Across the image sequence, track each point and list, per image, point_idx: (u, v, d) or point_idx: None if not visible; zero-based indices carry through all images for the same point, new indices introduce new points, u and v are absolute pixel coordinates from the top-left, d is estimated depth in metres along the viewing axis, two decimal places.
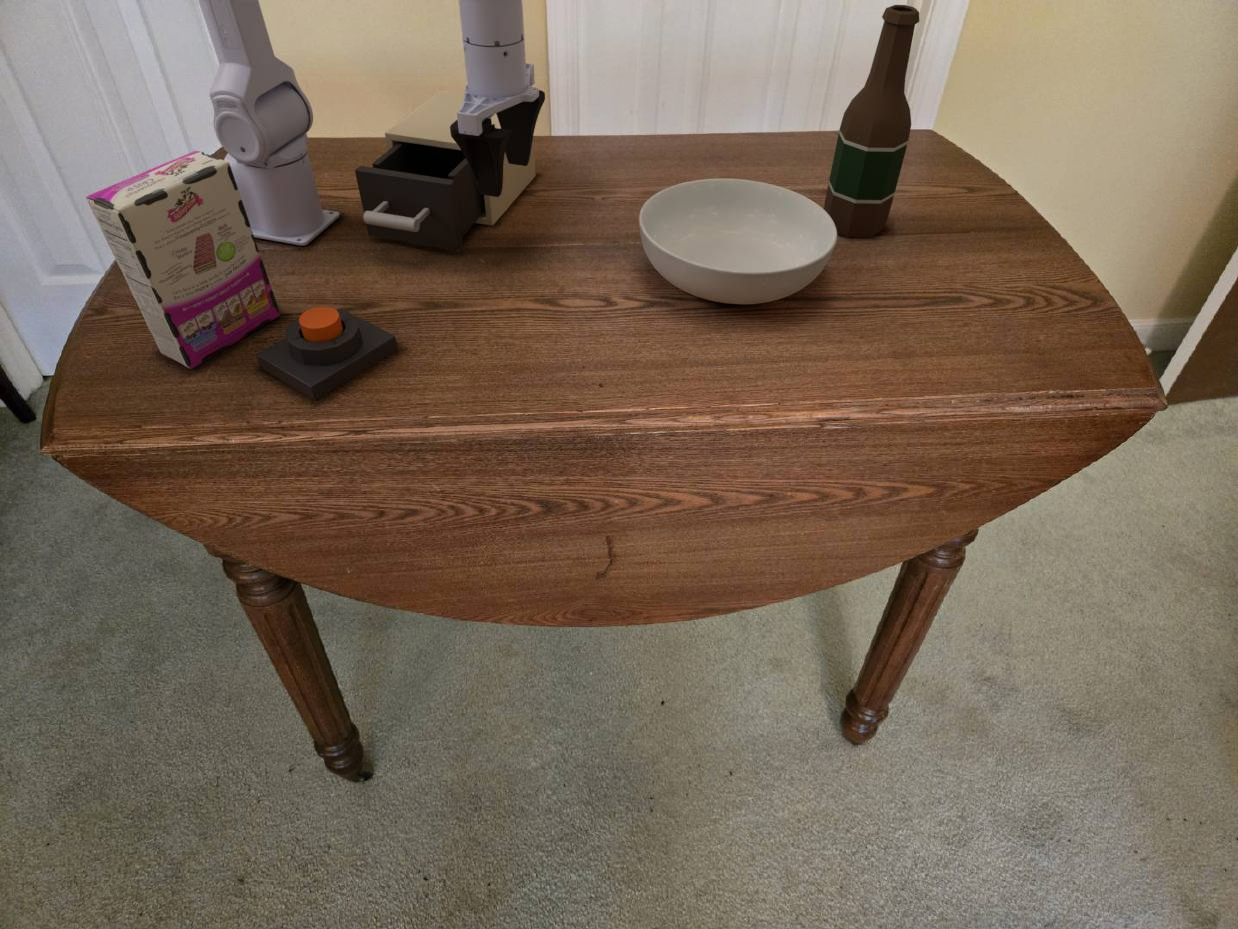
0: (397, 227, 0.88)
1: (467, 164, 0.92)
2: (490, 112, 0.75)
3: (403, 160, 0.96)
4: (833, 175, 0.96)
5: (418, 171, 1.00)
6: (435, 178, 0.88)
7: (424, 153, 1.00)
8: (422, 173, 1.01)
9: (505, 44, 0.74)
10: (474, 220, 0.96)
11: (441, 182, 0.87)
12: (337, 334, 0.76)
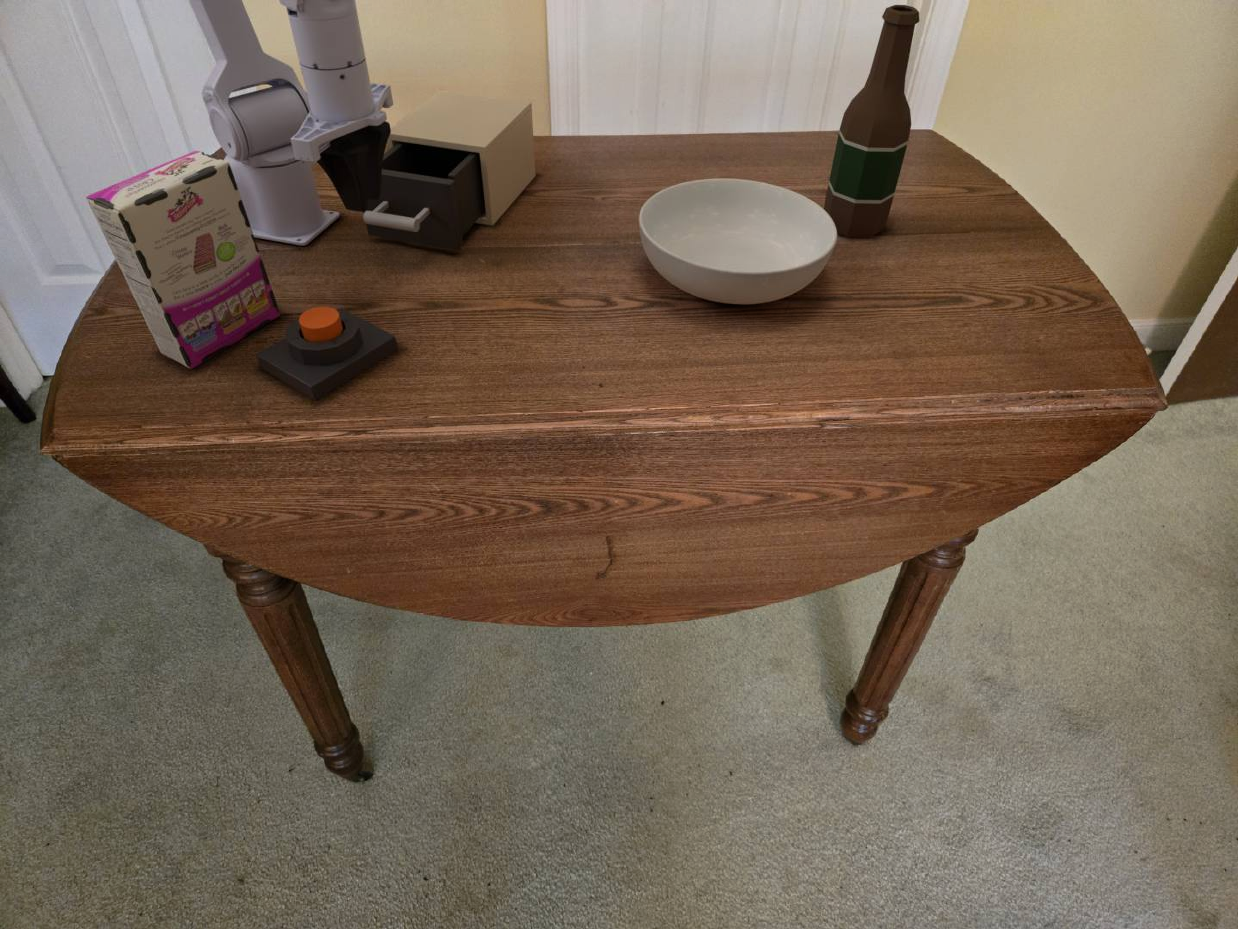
0: (397, 227, 0.88)
1: (467, 164, 0.92)
2: (328, 137, 0.72)
3: (403, 160, 0.96)
4: (833, 175, 0.96)
5: (418, 171, 1.00)
6: (435, 178, 0.88)
7: (424, 153, 1.00)
8: (422, 173, 1.01)
9: (340, 67, 0.71)
10: (474, 220, 0.96)
11: (441, 182, 0.87)
12: (337, 334, 0.76)
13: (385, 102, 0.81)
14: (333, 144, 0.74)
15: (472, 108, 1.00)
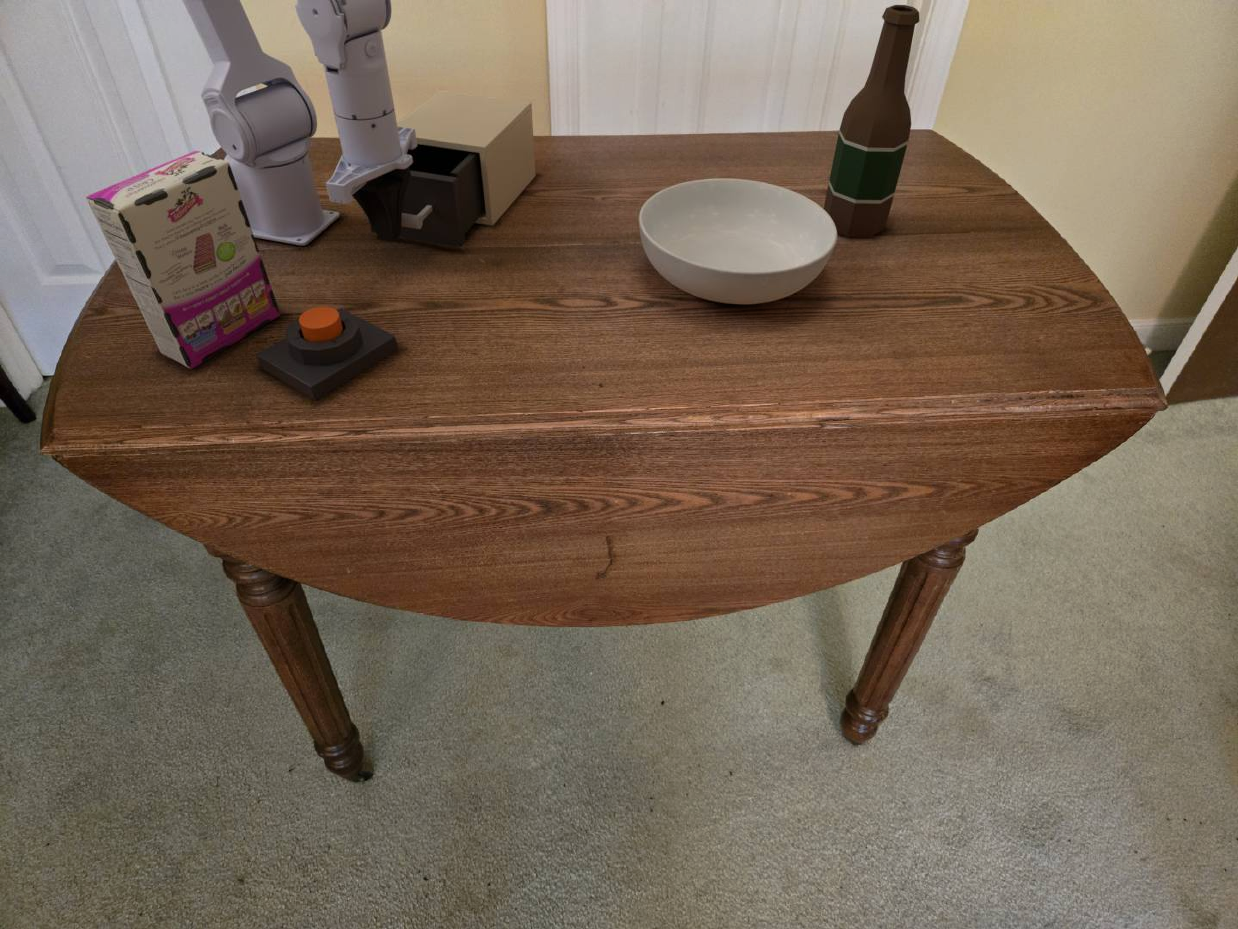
0: None
1: (470, 162, 0.92)
2: (360, 181, 0.78)
3: None
4: (833, 175, 0.96)
5: (420, 168, 1.00)
6: (438, 175, 0.89)
7: (427, 151, 1.00)
8: (425, 170, 1.01)
9: (372, 117, 0.77)
10: (476, 217, 0.97)
11: (444, 179, 0.88)
12: (337, 334, 0.76)
13: (410, 144, 0.87)
14: (369, 182, 0.81)
15: (472, 108, 1.00)
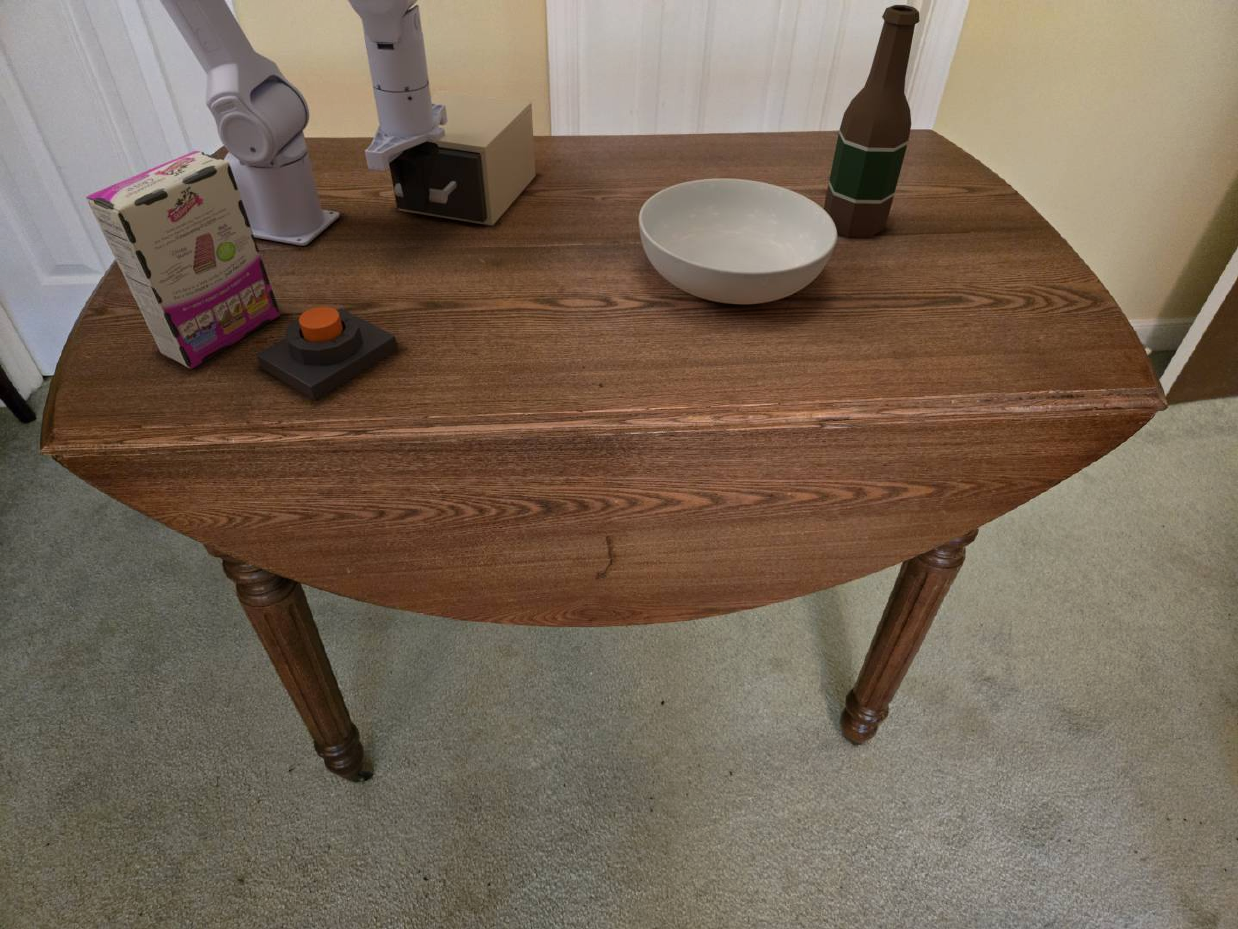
0: None
1: None
2: (396, 150, 0.84)
3: None
4: (833, 175, 0.96)
5: (443, 148, 1.04)
6: (462, 152, 0.93)
7: None
8: None
9: (409, 90, 0.82)
10: None
11: (468, 156, 0.92)
12: (337, 334, 0.76)
13: (441, 120, 0.92)
14: (405, 151, 0.86)
15: (472, 108, 1.00)
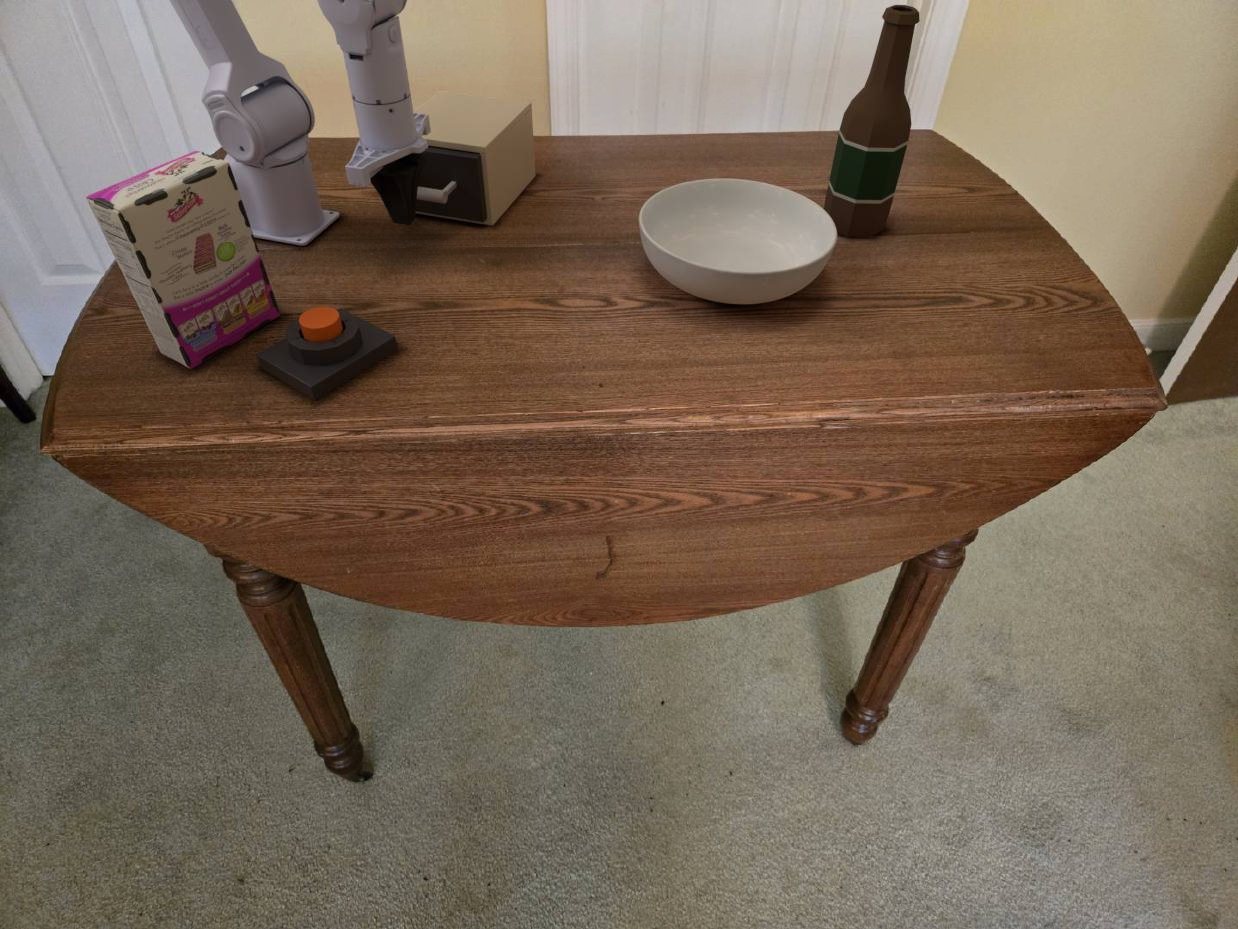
0: (426, 199, 0.92)
1: None
2: (378, 165, 0.81)
3: None
4: (833, 175, 0.96)
5: (443, 148, 1.04)
6: (462, 152, 0.93)
7: None
8: None
9: (390, 102, 0.79)
10: None
11: (468, 156, 0.92)
12: (337, 334, 0.76)
13: (424, 130, 0.89)
14: (386, 166, 0.83)
15: (472, 108, 1.00)
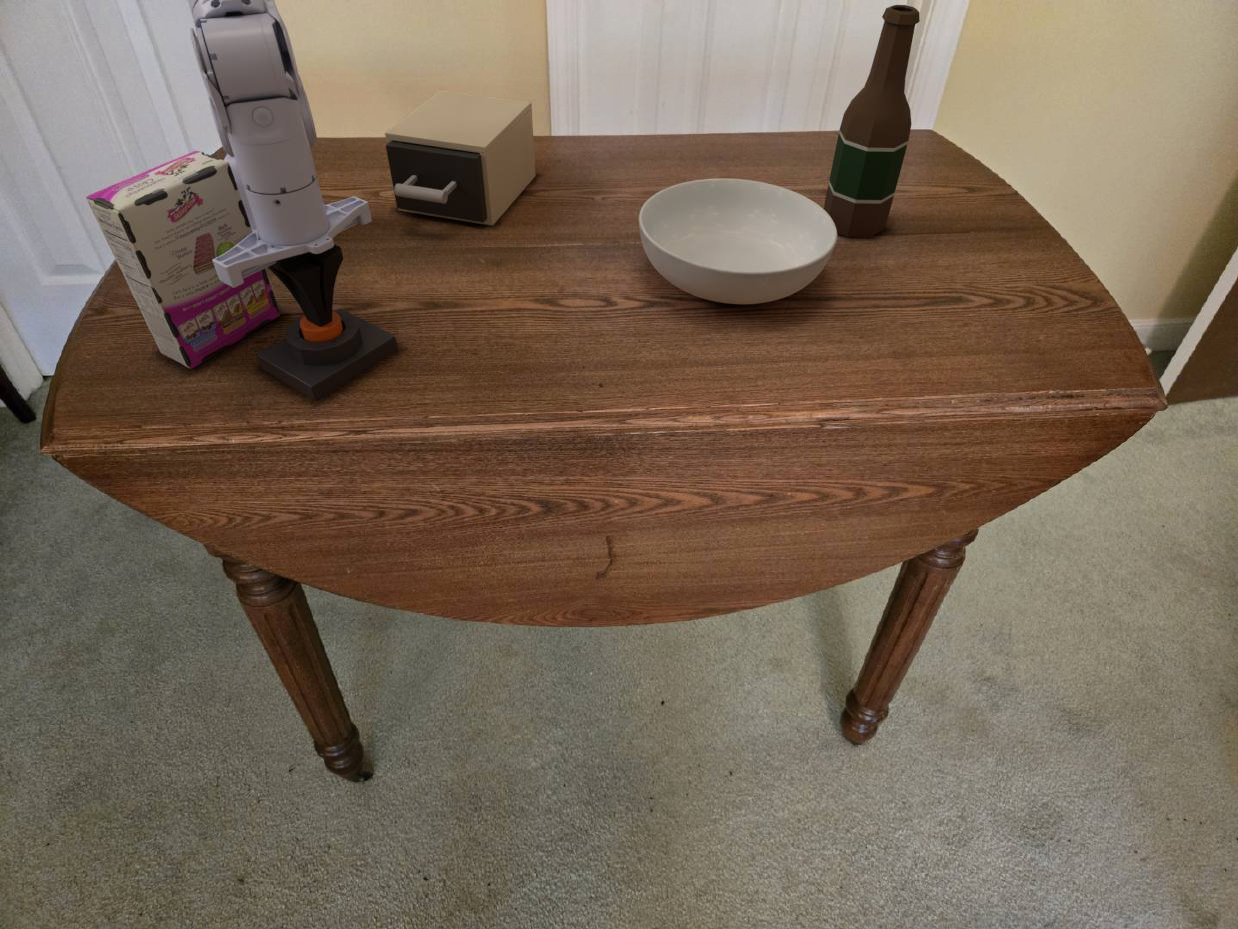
0: (426, 199, 0.92)
1: None
2: (254, 263, 0.66)
3: None
4: (833, 175, 0.96)
5: (443, 148, 1.04)
6: (462, 152, 0.93)
7: None
8: None
9: (274, 193, 0.64)
10: None
11: (468, 156, 0.92)
12: None
13: (360, 219, 0.74)
14: (279, 262, 0.69)
15: (472, 108, 1.00)
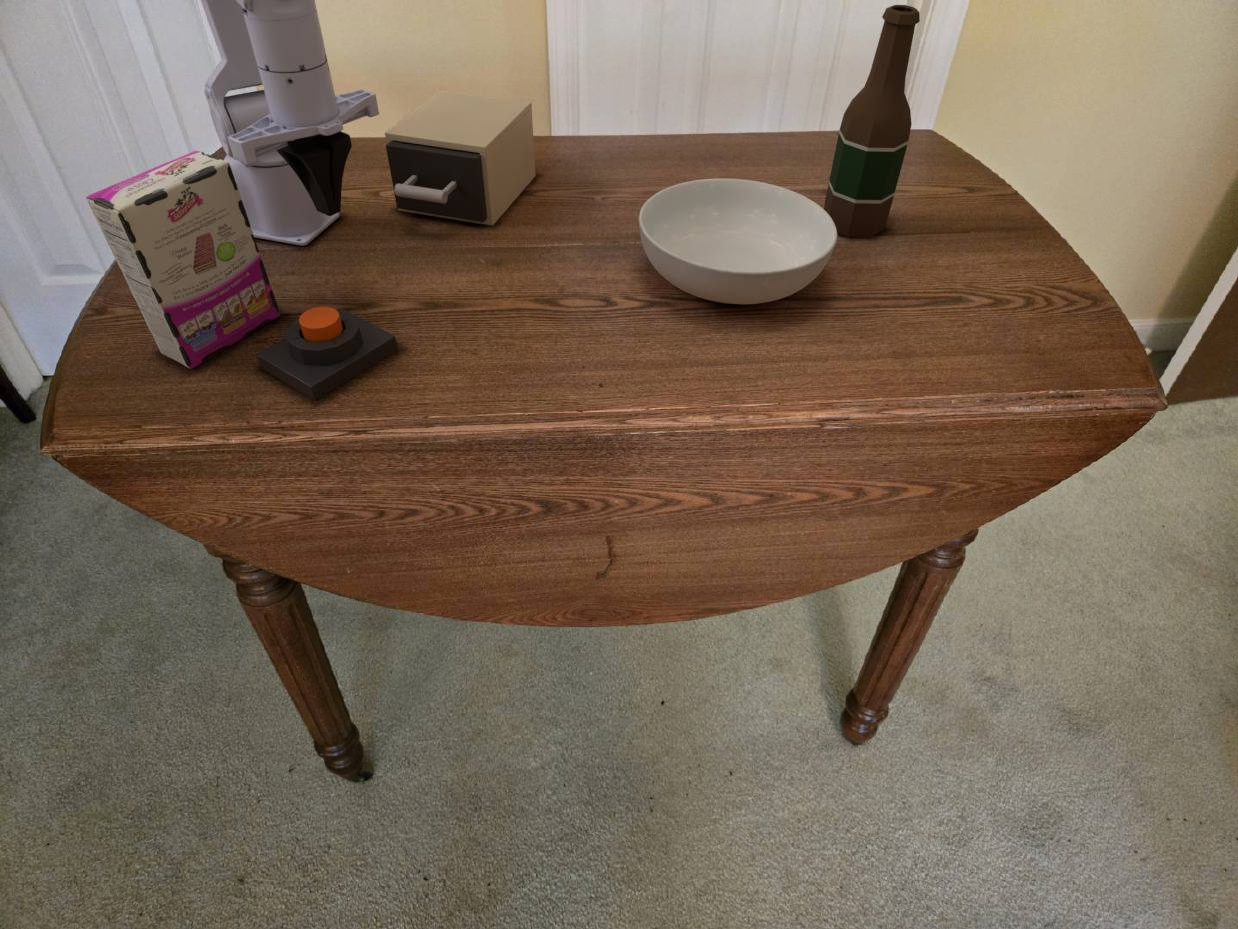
0: (426, 199, 0.92)
1: None
2: (267, 141, 0.69)
3: None
4: (833, 175, 0.96)
5: (443, 148, 1.04)
6: (462, 152, 0.93)
7: None
8: None
9: (287, 71, 0.67)
10: None
11: (468, 156, 0.92)
12: (337, 334, 0.76)
13: (368, 111, 0.77)
14: (290, 144, 0.72)
15: (472, 108, 1.00)
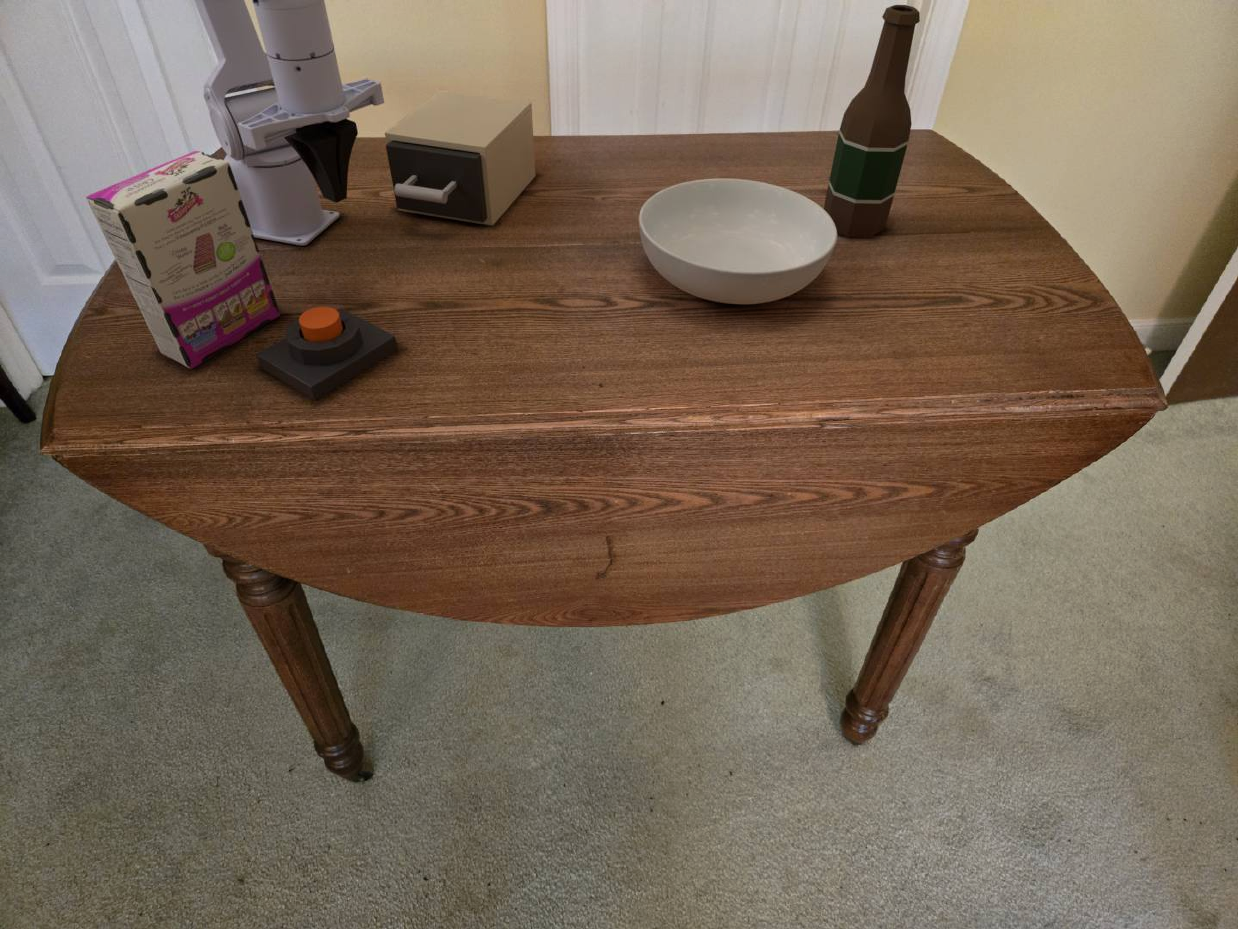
0: (426, 199, 0.92)
1: None
2: (276, 128, 0.71)
3: None
4: (833, 175, 0.96)
5: (443, 148, 1.04)
6: (462, 152, 0.93)
7: None
8: None
9: (296, 59, 0.69)
10: None
11: (468, 156, 0.92)
12: (337, 334, 0.76)
13: (373, 99, 0.79)
14: (298, 131, 0.74)
15: (472, 108, 1.00)
